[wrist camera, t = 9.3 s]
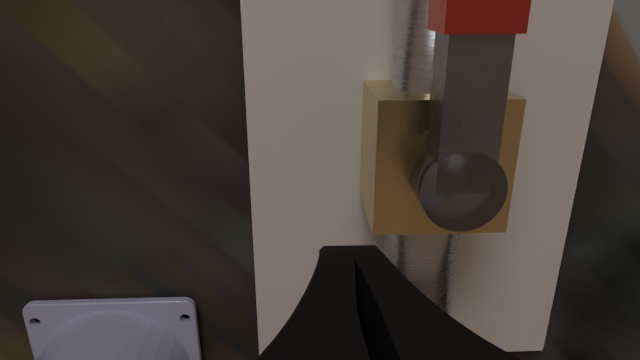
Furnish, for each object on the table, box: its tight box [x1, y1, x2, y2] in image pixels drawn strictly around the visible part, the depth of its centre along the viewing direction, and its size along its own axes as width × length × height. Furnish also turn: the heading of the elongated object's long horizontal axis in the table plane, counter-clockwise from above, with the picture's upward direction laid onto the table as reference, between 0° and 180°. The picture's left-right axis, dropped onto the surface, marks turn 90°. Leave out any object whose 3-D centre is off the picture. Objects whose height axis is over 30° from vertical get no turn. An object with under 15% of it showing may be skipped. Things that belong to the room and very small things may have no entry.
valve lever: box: [412, 0, 531, 232], centre depth 14 cm, size 10×3×2 cm, turn 0°
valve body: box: [360, 0, 527, 316], centre depth 18 cm, size 18×5×4 cm, turn 0°
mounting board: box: [240, 0, 614, 355], centre depth 21 cm, size 22×14×1 cm, turn 0°
